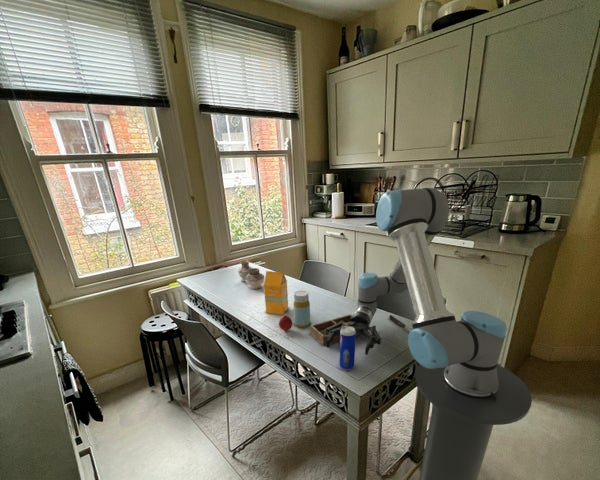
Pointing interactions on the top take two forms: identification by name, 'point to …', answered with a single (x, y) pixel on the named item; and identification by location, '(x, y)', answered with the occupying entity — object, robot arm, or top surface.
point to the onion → (285, 323)
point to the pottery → (250, 275)
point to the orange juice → (275, 292)
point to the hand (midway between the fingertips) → (346, 347)
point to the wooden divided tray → (320, 329)
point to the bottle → (301, 309)
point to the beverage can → (347, 347)
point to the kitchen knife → (400, 323)
